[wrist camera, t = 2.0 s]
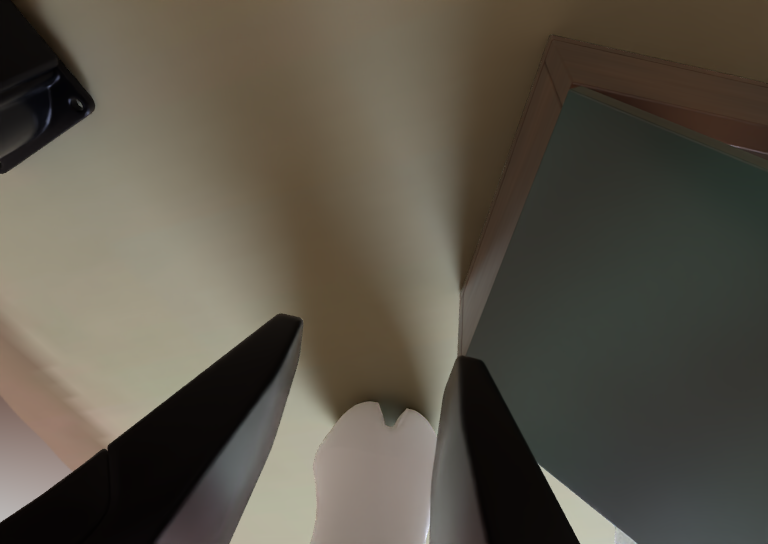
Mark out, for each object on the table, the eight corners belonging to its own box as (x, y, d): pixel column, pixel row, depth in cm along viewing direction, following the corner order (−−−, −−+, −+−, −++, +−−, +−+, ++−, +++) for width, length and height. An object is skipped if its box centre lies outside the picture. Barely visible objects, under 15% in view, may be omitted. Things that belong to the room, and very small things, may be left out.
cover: (1510, 456, 7) (1548, 489, 6) (869, 705, 14) (867, 730, 13) (581, 85, 13) (567, 88, 13) (461, 384, 20) (450, 393, 20)
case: (937, 120, 17) (1082, 196, 13) (735, 358, 24) (789, 457, 20) (549, 34, 17) (572, 81, 13) (459, 295, 24) (455, 380, 20)
